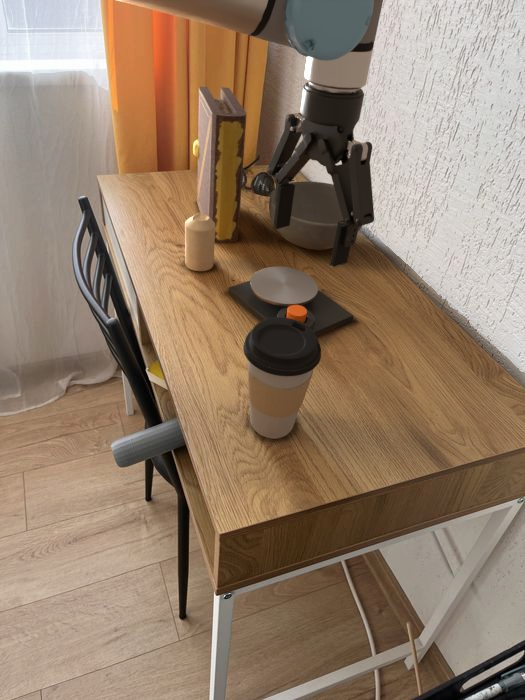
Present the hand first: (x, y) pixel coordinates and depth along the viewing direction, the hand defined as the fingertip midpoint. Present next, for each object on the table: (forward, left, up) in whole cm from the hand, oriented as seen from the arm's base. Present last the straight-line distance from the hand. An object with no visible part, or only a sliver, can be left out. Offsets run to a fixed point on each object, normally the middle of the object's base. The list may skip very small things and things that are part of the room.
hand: (308, 244), depth 78 cm
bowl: (-22, +24, -17) cm, 37 cm away
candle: (-26, -2, -17) cm, 31 cm away
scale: (-6, +4, -16) cm, 18 cm away
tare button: (0, 0, -14) cm, 14 cm away
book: (-41, +12, -17) cm, 46 cm away
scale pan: (-8, +4, -13) cm, 16 cm away
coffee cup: (+14, -16, -17) cm, 27 cm away
